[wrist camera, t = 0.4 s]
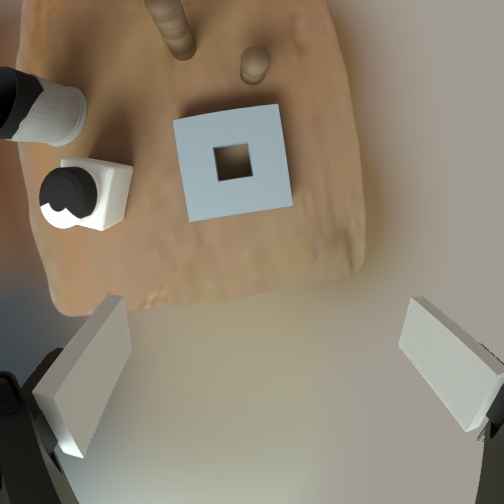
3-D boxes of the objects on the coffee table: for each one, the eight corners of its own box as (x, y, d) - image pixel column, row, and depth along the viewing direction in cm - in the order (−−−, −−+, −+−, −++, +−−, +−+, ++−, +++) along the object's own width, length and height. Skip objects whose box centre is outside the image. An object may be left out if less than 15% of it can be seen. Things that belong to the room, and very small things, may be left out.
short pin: (238, 65, 33) (239, 47, 27) (262, 62, 33) (267, 45, 27) (242, 86, 34) (243, 71, 28) (266, 83, 34) (271, 69, 28)
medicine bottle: (87, 157, 35) (36, 157, 23) (134, 166, 35) (94, 167, 24) (78, 209, 36) (28, 227, 25) (124, 220, 37) (83, 242, 26)
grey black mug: (61, 159, 34) (-10, 161, 20) (13, 106, 31) (-53, 96, 17) (99, 107, 33) (36, 84, 18) (47, 59, 30) (-14, 31, 15)
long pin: (171, 43, 31) (144, -9, 18) (194, 38, 31) (177, -17, 18) (173, 62, 32) (145, 15, 19) (197, 57, 32) (179, 6, 19)
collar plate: (177, 123, 34) (172, 120, 31) (274, 108, 35) (277, 103, 32) (193, 217, 38) (189, 221, 35) (288, 202, 38) (292, 205, 35)
